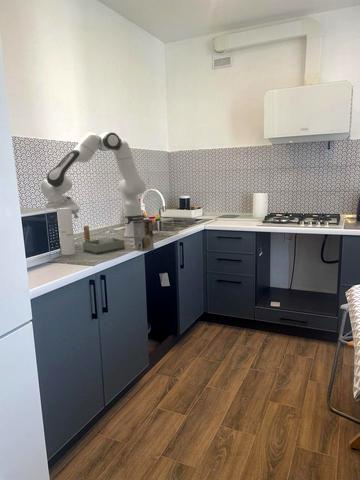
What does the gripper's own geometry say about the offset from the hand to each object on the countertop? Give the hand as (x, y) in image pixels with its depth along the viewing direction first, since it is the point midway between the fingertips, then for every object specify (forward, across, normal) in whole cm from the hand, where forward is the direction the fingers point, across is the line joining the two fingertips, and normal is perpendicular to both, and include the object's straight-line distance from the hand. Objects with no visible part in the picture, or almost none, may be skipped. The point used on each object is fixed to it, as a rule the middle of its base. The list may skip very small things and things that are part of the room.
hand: (71, 218), depth 213 cm
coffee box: (+44, +11, -20) cm, 50 cm away
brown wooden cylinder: (+21, 0, +3) cm, 21 cm away
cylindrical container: (+21, -15, +3) cm, 26 cm away
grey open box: (+29, +1, -5) cm, 30 cm away
